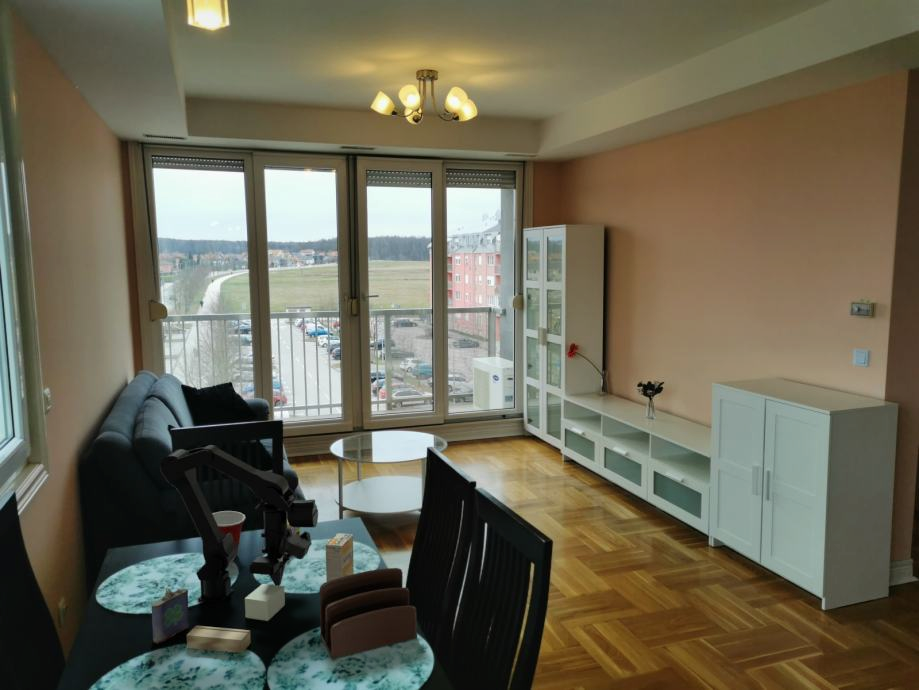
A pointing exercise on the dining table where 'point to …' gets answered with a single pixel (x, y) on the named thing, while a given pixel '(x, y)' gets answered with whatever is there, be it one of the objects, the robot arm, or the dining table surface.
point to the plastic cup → (230, 523)
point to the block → (264, 602)
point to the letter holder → (365, 612)
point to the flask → (170, 614)
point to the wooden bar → (218, 639)
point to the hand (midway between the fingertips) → (278, 585)
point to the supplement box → (339, 557)
